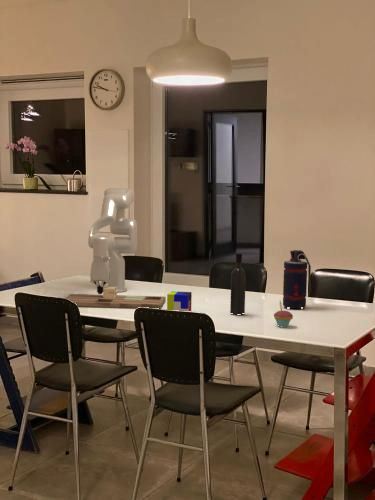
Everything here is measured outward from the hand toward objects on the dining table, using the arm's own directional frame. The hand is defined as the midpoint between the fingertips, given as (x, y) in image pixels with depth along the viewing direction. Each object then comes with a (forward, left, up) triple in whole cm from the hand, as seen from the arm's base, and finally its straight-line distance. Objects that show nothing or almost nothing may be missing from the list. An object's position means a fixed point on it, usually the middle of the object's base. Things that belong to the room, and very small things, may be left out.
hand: (100, 293), depth 358 cm
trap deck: (+6, +9, -4) cm, 11 cm away
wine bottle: (+24, +73, -4) cm, 77 cm away
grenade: (+3, +104, -4) cm, 104 cm away
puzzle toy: (+26, +45, -4) cm, 52 cm away
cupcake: (+49, +94, -4) cm, 106 cm away
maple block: (+1, +5, -2) cm, 6 cm away
